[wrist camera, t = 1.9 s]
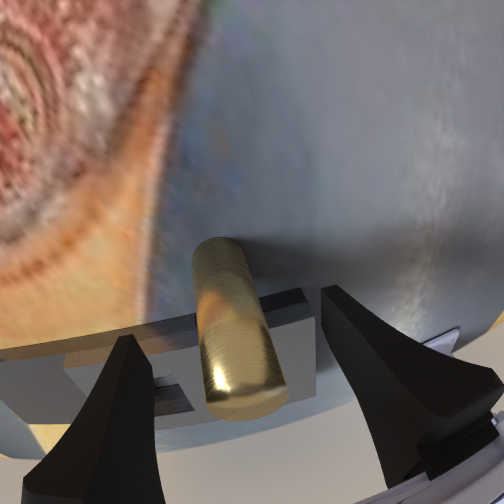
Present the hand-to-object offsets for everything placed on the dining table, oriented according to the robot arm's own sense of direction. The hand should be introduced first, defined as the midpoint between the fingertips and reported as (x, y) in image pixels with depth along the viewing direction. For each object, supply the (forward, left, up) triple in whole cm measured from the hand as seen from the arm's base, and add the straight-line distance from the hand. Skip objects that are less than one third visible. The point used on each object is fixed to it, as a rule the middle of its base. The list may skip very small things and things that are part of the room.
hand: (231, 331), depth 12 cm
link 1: (-7, +11, -5) cm, 14 cm away
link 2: (-7, +3, -5) cm, 9 cm away
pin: (0, 0, -5) cm, 5 cm away
